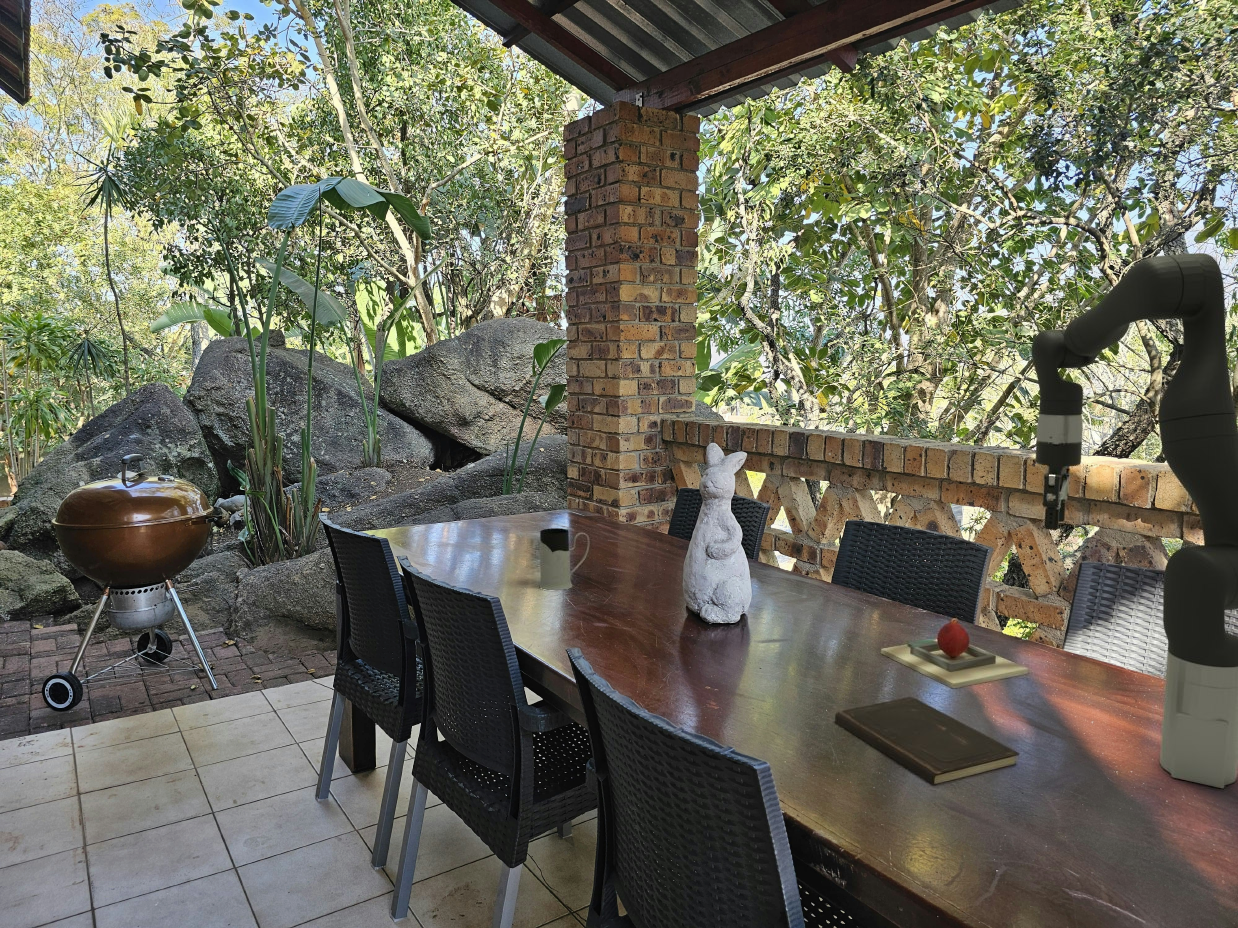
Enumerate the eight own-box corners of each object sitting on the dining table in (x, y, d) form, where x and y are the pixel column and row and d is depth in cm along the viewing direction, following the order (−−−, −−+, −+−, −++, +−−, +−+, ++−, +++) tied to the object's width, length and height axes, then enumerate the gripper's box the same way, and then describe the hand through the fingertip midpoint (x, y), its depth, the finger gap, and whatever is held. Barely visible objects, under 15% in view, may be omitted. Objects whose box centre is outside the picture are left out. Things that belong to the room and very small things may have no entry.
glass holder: (534, 584, 229) (533, 529, 227) (583, 578, 235) (582, 524, 233) (545, 592, 221) (544, 535, 219) (596, 585, 227) (595, 530, 225)
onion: (948, 664, 164) (950, 624, 163) (930, 654, 170) (931, 615, 169) (974, 661, 166) (976, 621, 165) (955, 651, 171) (957, 612, 170)
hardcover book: (911, 708, 148) (912, 696, 148) (1018, 767, 127) (1019, 752, 127) (834, 725, 142) (834, 711, 142) (933, 789, 121) (933, 773, 121)
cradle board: (1028, 673, 162) (1028, 660, 162) (953, 688, 155) (953, 675, 155) (950, 641, 180) (951, 629, 180) (881, 653, 174) (881, 641, 173)
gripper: (1042, 434, 166) (1038, 517, 168) (1030, 441, 154) (1026, 530, 156) (1086, 436, 162) (1081, 520, 164) (1077, 443, 150) (1072, 534, 152)
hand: (1054, 525), depth 160 cm, fingers open, 8 cm apart
